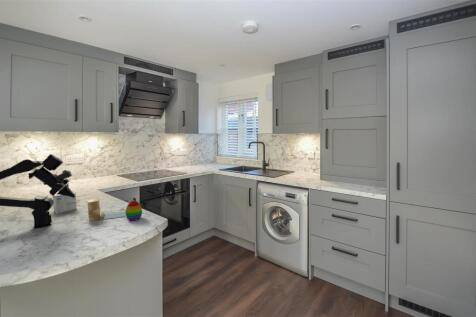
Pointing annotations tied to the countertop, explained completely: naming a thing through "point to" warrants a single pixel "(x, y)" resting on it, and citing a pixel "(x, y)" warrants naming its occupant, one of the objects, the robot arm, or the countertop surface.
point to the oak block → (93, 209)
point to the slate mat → (112, 215)
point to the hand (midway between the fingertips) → (74, 196)
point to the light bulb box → (64, 203)
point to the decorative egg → (133, 210)
